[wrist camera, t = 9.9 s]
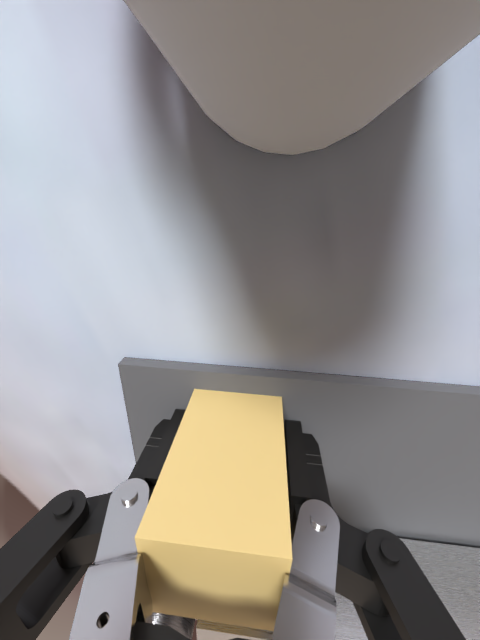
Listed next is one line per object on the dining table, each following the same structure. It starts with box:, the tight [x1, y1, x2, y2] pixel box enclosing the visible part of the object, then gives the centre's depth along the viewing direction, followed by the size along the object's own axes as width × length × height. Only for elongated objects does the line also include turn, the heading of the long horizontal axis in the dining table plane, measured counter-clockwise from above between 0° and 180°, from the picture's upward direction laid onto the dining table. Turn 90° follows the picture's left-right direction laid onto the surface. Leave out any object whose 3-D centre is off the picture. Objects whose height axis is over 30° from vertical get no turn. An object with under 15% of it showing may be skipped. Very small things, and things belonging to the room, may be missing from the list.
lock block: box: [135, 389, 293, 631], centre depth 10 cm, size 4×4×6 cm
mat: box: [118, 357, 480, 548], centre depth 15 cm, size 25×18×1 cm
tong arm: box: [196, 538, 480, 640], centre depth 13 cm, size 19×2×4 cm, turn 88°
